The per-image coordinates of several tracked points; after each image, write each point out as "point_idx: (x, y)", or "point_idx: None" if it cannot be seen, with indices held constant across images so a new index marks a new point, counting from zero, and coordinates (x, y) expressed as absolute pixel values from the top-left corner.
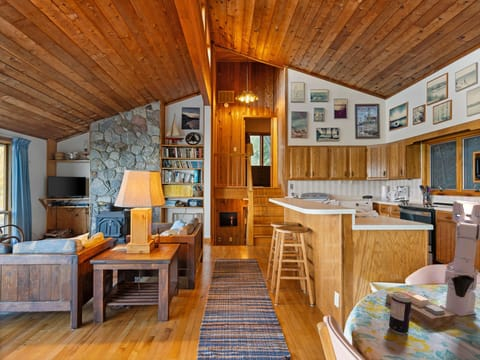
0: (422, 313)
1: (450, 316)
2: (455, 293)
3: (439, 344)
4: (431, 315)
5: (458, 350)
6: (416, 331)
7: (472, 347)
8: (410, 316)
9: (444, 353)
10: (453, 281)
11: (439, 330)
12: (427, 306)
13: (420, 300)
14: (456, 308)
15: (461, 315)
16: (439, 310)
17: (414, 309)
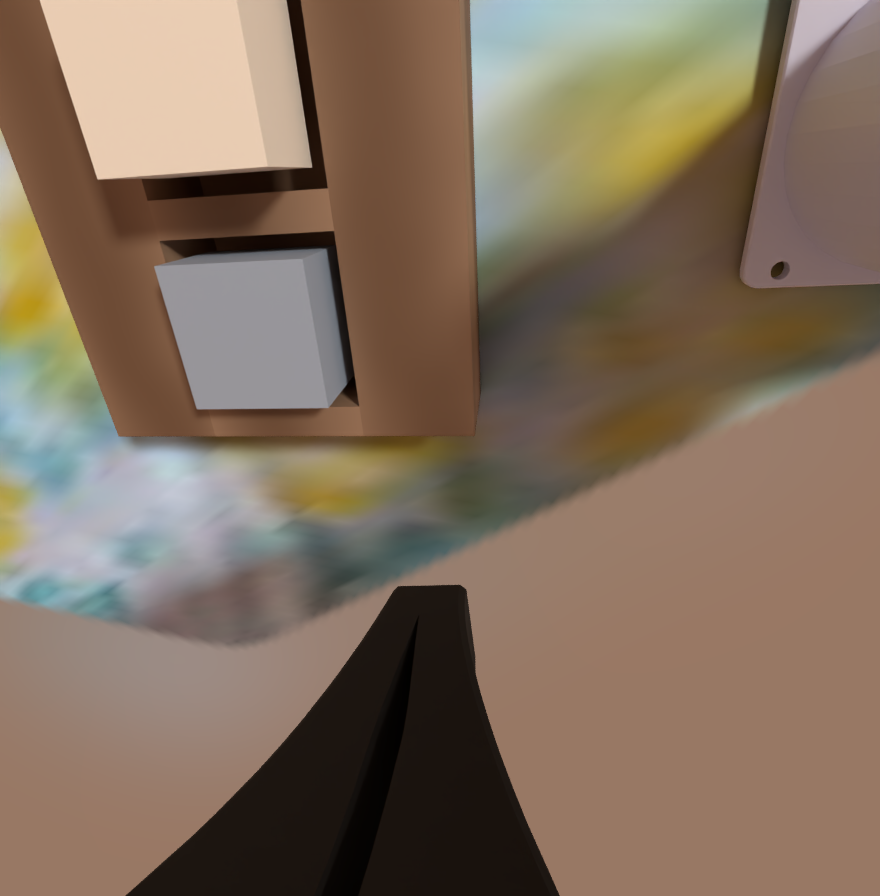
0: (82, 334)
1: (385, 430)
2: (389, 600)
3: (101, 546)
4: (153, 393)
5: (180, 607)
6: (26, 404)
7: (298, 612)
8: None
9: (74, 602)
10: (199, 850)
11: None
12: (166, 287)
13: (95, 171)
14: (816, 213)
15: (762, 287)
16: (251, 402)
17: (43, 225)
